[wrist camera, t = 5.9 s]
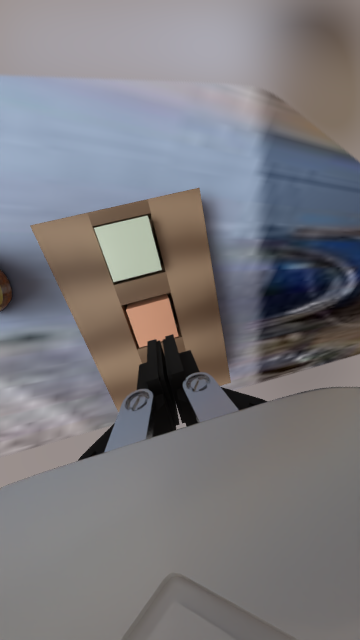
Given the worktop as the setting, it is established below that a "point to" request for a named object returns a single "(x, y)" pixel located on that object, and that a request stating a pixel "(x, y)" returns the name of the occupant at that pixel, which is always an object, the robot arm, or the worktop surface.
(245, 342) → the worktop surface
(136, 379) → the button panel
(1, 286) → the sauce bottle
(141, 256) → the sage button
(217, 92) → the worktop surface
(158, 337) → the terracotta button
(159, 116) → the worktop surface
